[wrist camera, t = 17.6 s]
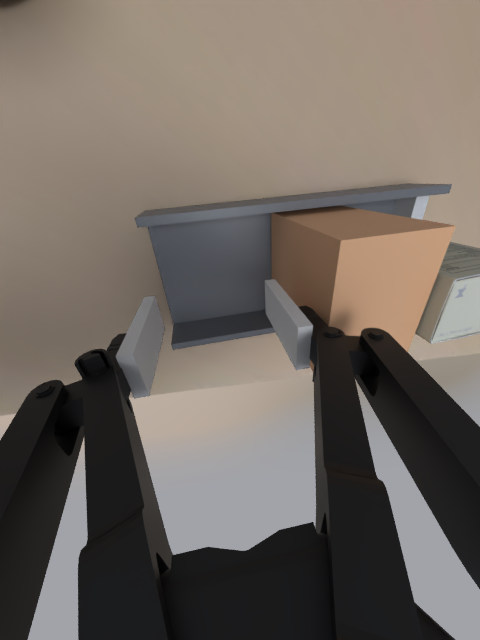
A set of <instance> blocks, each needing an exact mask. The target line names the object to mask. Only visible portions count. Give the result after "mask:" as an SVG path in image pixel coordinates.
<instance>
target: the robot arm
mask: <svg viewBox="0 0 480 640" xmlns="http://www.w3.org/2000/svg"><path fill="white" fill-rule="evenodd" d="M265 306H266V315H267V317H268V319H269V320H270V322H271V324H272V326H273V328H274V330H275V332H276V334H277V335H278V337H279V339H280V341H281V343H282V345H283V347H284V349H285V350H286V352H287V354H288V356H289V358H290V360H291V362H292V364H293V365H294V367H295V369H296V370H299V369H305V368H309V367H310V360H311V361H312V363H313V364H314V372H313V382H314V412H315V413H314V414H315V415H314V416H315V467H316V529H315V526H314V524H313V522H311V523H307V524H303V525H299V526H295V527H291V528H286V529H282V530H279V531H277V532H276V533H274V534H273V535H271V536H270V537H268V538H266V539H265V540H263V541H262V542H260V543H259V544H257V545H255V546H254V547H252V548H251V549H249V550H247V551H238V550H229V549H220V548H212V547H206V548H202V549H198V550H193V551H189V552H185V553H181V554H176V555H173V554H172V552H171V549H170V546H169V543H168V539H167V536H166V532H165V528H164V525H163V521H162V517H161V513H160V510H159V506H158V502H157V498H156V495H155V491H154V487H153V483H152V480H151V476H150V472H149V468H148V465H147V461H146V457H145V454H144V450H143V446H142V442H141V438H140V435H139V431H138V427H137V424H136V420H135V416H134V412H133V408H132V405H131V402H130V400H129V395H130V392H132V394H133V397H134V398H140V397H145V396H150V391H151V387H152V383H153V378H154V374H155V370H156V365H157V361H158V357H159V352H160V348H161V344H162V339H163V335H164V331H165V327H164V324H163V320H162V317H161V314H160V310H159V307H158V303H157V300H156V296H149V297H144V298H143V300H142V302H141V305H140V307H139V309H138V311H137V313H136V315H135V317H134V319H133V321H132V323H131V325H130V327H129V330H128V332H127V333H124V334H119V335H117V336H116V337H115V338H114V339H113V340H112V341H111V343H110V345H109V347H108V349H107V351H106V350H104V349H95V350H91V351H89V352H86V353H84V354H83V355H81V356H80V357H78V359H77V360H76V361H75V363H74V364H75V366H76V368H77V369H78V371H79V373H80V375H81V376H82V380H80V381H78V382H75V383H72V384H69V385H66V386H64V384H63V383H62V382H61V381H60V380H52V381H48V382H45V383H43V384H41V385H39V386H37V387H36V388H35V389H33V390H32V391H31V392H30V393H29V394H28V396H27V397H26V399H25V401H24V402H23V404H22V405H21V407H20V409H19V410H18V412H17V414H16V415H15V417H14V419H13V420H12V422H11V424H10V425H9V427H8V429H7V430H6V432H5V434H4V435H3V437H2V438H1V440H0V640H27V639H28V635H29V632H30V628H31V625H32V621H33V617H34V614H35V610H36V607H37V603H38V599H39V596H40V592H41V588H42V585H43V581H44V578H45V574H46V570H47V567H48V563H49V560H50V556H51V553H52V549H53V546H54V542H55V538H56V535H57V531H58V528H59V524H60V520H61V517H62V513H63V510H64V506H65V502H66V499H67V495H68V492H69V488H70V484H71V481H72V477H73V474H74V470H75V466H76V463H77V459H78V456H79V452H80V448H81V445H82V441H83V438H85V470H86V496H87V497H86V499H87V528H88V541H87V544H86V546H85V547H84V548H83V549H82V550H81V552H80V556H79V564H78V612H79V613H78V614H79V615H78V623H79V624H78V626H79V627H78V628H79V629H78V633H79V634H78V636H79V640H455V639H454V638H453V637H452V636H451V635H449V634H448V633H447V632H446V631H445V630H444V629H443V628H442V627H441V626H439V624H437V623H436V622H435V621H434V620H433V619H432V618H431V617H430V616H429V615H428V614H426V613H425V612H424V611H423V610H422V609H421V608H420V607H419V606H418V605H417V604H416V603H415V602H414V599H413V595H412V591H411V587H410V582H409V579H408V575H407V570H406V566H405V562H404V558H403V554H402V550H401V546H400V541H399V537H398V533H397V529H396V525H395V521H394V517H393V513H392V509H391V505H390V501H389V497H388V493H387V490H386V487H385V485H384V483H383V482H382V481H381V480H379V479H378V478H377V476H376V472H375V468H374V464H373V459H372V455H371V450H370V446H369V441H368V436H367V432H366V427H365V423H364V418H363V414H362V410H361V405H360V400H359V396H358V392H357V387H356V382H355V379H356V381H357V382H358V384H359V386H360V388H361V389H362V391H363V392H364V394H365V396H366V398H367V400H368V402H369V403H370V405H371V407H372V408H373V410H374V412H375V414H376V416H377V417H378V419H379V421H380V422H381V424H382V426H383V428H384V429H385V431H386V433H387V435H388V436H389V438H390V440H391V442H392V443H393V445H394V447H395V449H396V450H397V452H398V454H399V455H400V457H401V459H402V460H403V462H404V464H405V466H406V468H407V469H408V471H409V473H410V474H411V476H412V478H413V480H414V481H415V483H416V485H417V487H418V489H419V490H420V492H421V494H422V495H423V497H424V499H425V501H426V502H427V504H428V506H429V508H430V509H431V511H432V513H433V515H434V516H435V518H436V520H437V521H438V523H439V525H440V527H441V528H442V530H443V532H444V534H445V535H446V537H447V539H448V541H449V542H450V544H451V546H452V548H453V549H454V551H455V552H456V554H457V556H458V557H459V559H460V560H461V562H462V564H463V565H464V567H465V568H466V570H467V572H468V573H469V574H470V576H471V577H472V579H473V580H474V582H475V583H476V584H477V586H478V587H479V589H480V427H479V426H478V425H477V424H476V423H475V422H474V421H473V420H472V419H471V417H470V416H469V415H468V414H467V413H466V412H465V411H464V410H463V409H461V407H460V406H459V405H458V404H457V403H456V402H455V401H454V400H453V399H452V398H451V397H450V396H449V395H448V394H447V393H446V392H445V391H444V390H443V389H442V387H441V386H440V385H439V384H438V383H437V382H436V381H435V380H434V379H433V378H432V377H431V376H430V375H429V374H428V373H427V372H426V371H425V370H424V369H423V368H422V367H421V366H420V365H419V364H418V363H417V362H416V361H415V360H414V359H413V358H412V356H411V355H410V354H409V353H408V352H407V351H406V350H405V349H404V348H403V347H402V346H401V345H400V344H399V343H398V342H397V341H396V340H395V339H394V338H393V337H392V336H391V335H390V334H389V333H388V332H386V331H384V330H382V329H379V328H365V329H363V330H362V331H361V335H360V336H347V335H345V334H344V332H343V331H342V330H340V329H338V328H336V327H329V326H328V325H327V324H326V323H325V322H324V321H323V320H322V319H321V318H320V317H319V315H318V314H316V312H315V311H314V310H313V309H312V308H310V307H308V306H299V307H298V306H297V305H296V304H295V303H294V302H293V300H292V299H291V298H290V297H289V296H288V294H287V293H286V292H285V291H284V290H283V288H282V287H281V286H280V285H279V283H278V282H277V281H276V280H275V279H271V280H265Z"/></svg>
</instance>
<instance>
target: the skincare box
mask: <svg viewBox="0 0 480 640" xmlns="http://www.w3.org/2000/svg"><path fill="white" fill-rule="evenodd" d="M415 334H417V335H419V336H420V337H422V338H423V339H425V340H426V341H428V342H429V343H437V342H443V341H448V340H453V339H457V338H462V337H467V336H471V335H476V334H480V248H476V247H471V246H466V245H462V244H457V243H453V242H450V243H449V246H448V248H447V251H446V253H445V256H444V259H443V261H442V264H441V266H440V269H439V272H438V274H437V277H436V280H435V282H434V285H433V287H432V290H431V293H430V295H429V298H428V301H427V303H426V306H425V308H424V311H423V314H422V316H421V319H420V321H419V324H418V327H417V329H416V332H415Z"/></svg>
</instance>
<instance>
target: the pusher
mask: <svg viewBox="0 0 480 640" xmlns="http://www.w3.org/2000/svg"><path fill="white" fill-rule="evenodd" d="M455 227H456V226H454V225H448V224H443V223H437V222H431V221H426V220H420V219H414V218H409V217H403V216H397V215H392V214H386V213H380V212H375V211H369V210H363V209H358V208H352V207H346V206H340V205H337V206H328V207H319V208H310V209H301V210H292V211H283V212H274V213H271V264H272V279H275V280H276V281H277V282H278V283H279V285H280V286H281V287H282V288H283V290H284V291H285V292H286V293H287V294H288V296H289V297H290V298H291V299H292V300H293V302H294V303H295V304H296V305H297V306H298V307H299V306H308V307H310V308H312V309H313V310H314V311H315V312H316V314H318V315H319V317H320V318H321V319H322V320H323V321H324V322H325V323H326V324H327V325H328V326H329V327H336V328H338V329H340V330H342V331H343V332H344V334H345V335H347V336H360V335H361V331H362V330H363V329H365V328H379V329H382V330H384V331H386V332H388V333H389V334H390V335H391V336H392V337H393V338H394V339H395V340H396V341H397V342H398V343H399V344H400V345H401V346H402V347H403V348H404V349H405V350H406V351H407V352H408V350H409V348H410V345H411V342H412V340H413V337H414V335H415V332H416V329H417V327H418V324H419V321H420V319H421V316H422V314H423V311H424V308H425V306H426V303H427V301H428V298H429V295H430V293H431V290H432V287H433V285H434V282H435V280H436V277H437V274H438V272H439V269H440V266H441V264H442V261H443V259H444V256H445V253H446V251H447V248H448V246H449V243H450V240H451V238H452V235H453V232H454V230H455ZM310 367H311V369H312V371H313V372H314V364H313V363H312V361H311V360H310Z"/></svg>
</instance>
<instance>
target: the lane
mask: <svg viewBox="0 0 480 640" xmlns="http://www.w3.org/2000/svg"><path fill="white" fill-rule="evenodd" d="M451 186H452V184H400V185H390V186H380V187H370V188H361V189H351V190H341V191H332V192H322V193H312V194H302V195H293V196H283V197H273V198H263V199H254V200H244V201H234V202H225V203H215V204H205V205H195V206H186V207H176V208H166V209H157V210H147V211H144V212H143V213H141V214H140V215H138V216H137V217H136V218H135V220H136V224H137V227H147V226H148V230H149V234H150V238H151V241H152V245H153V249H154V253H155V256H156V260H157V264H158V268H159V271H160V275H161V279H162V283H163V286H164V290H165V294H166V298H167V301H168V305H169V309H170V313H171V316H172V320H173V324H174V325H173V334H172V343H171V345H172V349H173V350H174V349H180V348H186V347H192V346H198V345H204V344H209V343H215V342H221V341H227V340H233V339H239V338H245V337H251V336H256V335H262V334H268V333H274V332H275V330H274V328H273V326H272V324H271V322H270V320H269V319H268V317H267V315H266V306H265V280H271V279H272V264H271V213H274V212H283V211H292V210H301V209H310V208H319V207H328V206H337V205H340V206H346V207H352V208H358V209H363V210H369V211H375V212H380V213H386V214H392V215H397V216H403V217H409V218H414V219H420V220H422V219H423V215H424V212H425V209H426V206H427V202H428V199H429V196H430V195H437V194H446V193H449V192H450V189H451Z"/></svg>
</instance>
